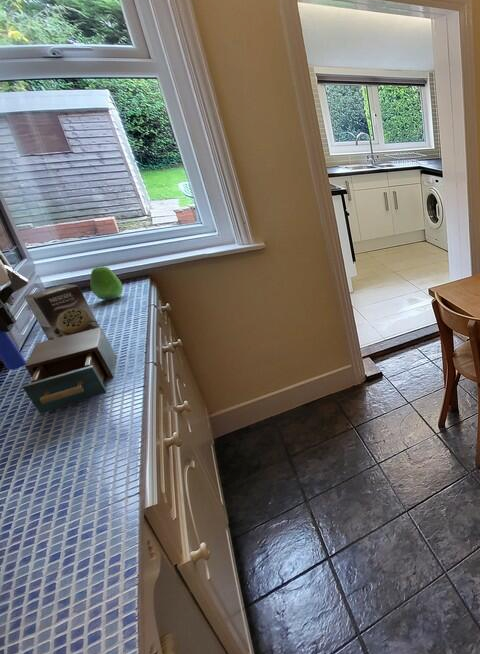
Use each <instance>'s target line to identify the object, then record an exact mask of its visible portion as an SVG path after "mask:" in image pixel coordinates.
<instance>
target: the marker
mask: <svg viewBox="0 0 480 654" xmlns="http://www.w3.org/2000/svg"><path fill="white" fill-rule="evenodd" d="M0 360H1V362H2V363H3V365H4V367H5V368H6V369H7V370H8V371H11V370H12V371H13V370H18V369H20V368H22V367H25V365H26V364H27V360H26V359H25V358H24V356H23V355H22V353H21V351H20V350H19V348H18V347H17V345H16V344H15V342H14V341H13V339H12V337H11V336H10V335H9V332H3V331H2V330H1V328H0Z"/></svg>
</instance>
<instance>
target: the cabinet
mask: <svg viewBox="0 0 480 654" xmlns="http://www.w3.org/2000/svg"><path fill="white" fill-rule="evenodd" d="M92 351H94V352H95V354H96V355H97V357H98V359H99V361H100V363H101V364H102V366H103V368H104V370H105V374H104V380H105V381H107V380H106V379H108V380H110V379H109V378H111V379H114V378H115V372H114V371H115V370H116V362H117V361H116V360H117V354H116V352H115V351H114V348H113V346H112V345H111V343H110V341H109V339H108V337H107V335H106V333H105V332H104V330H103V328H102V327H101V326H100V328H96V329H92V330H88V331H84V332H80V333H76V334H72V335H68V336H64V337H60V338H56V339H52V340H48V339H47V340H45V341H40V342H37V343H35V345H34V347H33V350H32V351H31V353H30V355H29V358H28V359H27V360H26V362H27V364H26V365H24V368H25V369H26V371H27V372H28V374H29V375H30V377H31V378H32V377H33V375H34V372H35V370H36V368H37V366H41V365H45V364H48V363H52V362H56V361H59V360H63V359H67V358H70V357H74V356H78V355H81V354H85V353H89V352H92ZM113 377H114V378H113Z"/></svg>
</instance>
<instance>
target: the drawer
mask: <svg viewBox="0 0 480 654" xmlns="http://www.w3.org/2000/svg"><path fill="white" fill-rule="evenodd" d="M104 374H105V370H104V368H103V366H102V364H101V363H100V361H99V359H98V357H97V355H96V354H95V352H94V351H92V352H89V353H85V354H81V355H78V356H74V357H70V358H67V359H63V360H59V361H56V362H52V363H48V364H45V365H41V366H37V368H36V370H35V372H34V375H33V377H31V379H30V382H28V383H26V384H23V386H22V389H23V390H24V392H25V394H26V395H27V396H28V398H29V400H30V401H31V403H32V404H33V406H34V407H35V409H36V410H37V411H38V413H39V414H40V415H42V414H44V413H48V412H51V411H54V410H58V409H61V408H64V407H67V406H70V405H73V404H76V403H80V402H83V401H85V400H88V399H93V398H94V397H99V396H101V395H104V394H106V393H107V391H108V390H107V388H106V386H105V385H104V382H105V381H104Z"/></svg>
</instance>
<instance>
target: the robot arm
mask: <svg viewBox="0 0 480 654" xmlns="http://www.w3.org/2000/svg"><path fill="white" fill-rule="evenodd" d="M9 282H10V283H9ZM29 283H30V280H29V279H28V278H27V277H25V276H24V275H22V274H20V273H19V272H17V271H16V270H14V269H13V267H12V265H11V263H10V262H9V261H8V259H7V258H6V256H5V255H4V253H3V252H2V250H0V287H3V286H4V287H3V288H2V289H0V328H1V330H2V331H3V332H7V333H9V332H11V331H12V330H13V328H14V326H15V324H16V323H17V320H16V318H15V316H14V314H13V313H12V311H11V310H10V308H9V307H8V305H7V304H6V303H7V302H8V300H9V299H10V297H11V296H12V295H13V294H14V293H16V292H18V291H20V290H21V289H23V288H25V287H26V286H27V285H28V284H29Z"/></svg>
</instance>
